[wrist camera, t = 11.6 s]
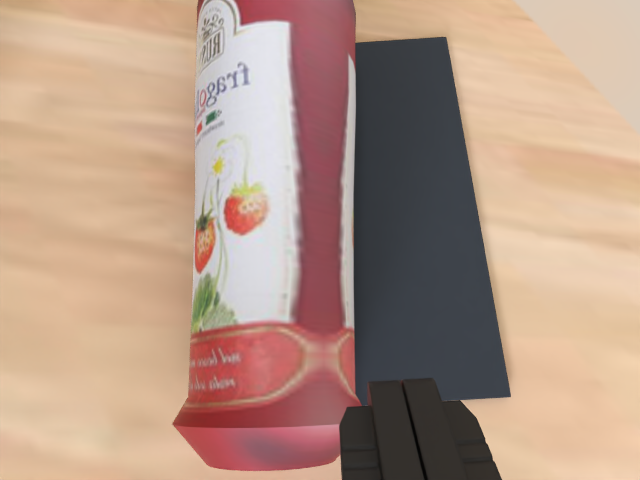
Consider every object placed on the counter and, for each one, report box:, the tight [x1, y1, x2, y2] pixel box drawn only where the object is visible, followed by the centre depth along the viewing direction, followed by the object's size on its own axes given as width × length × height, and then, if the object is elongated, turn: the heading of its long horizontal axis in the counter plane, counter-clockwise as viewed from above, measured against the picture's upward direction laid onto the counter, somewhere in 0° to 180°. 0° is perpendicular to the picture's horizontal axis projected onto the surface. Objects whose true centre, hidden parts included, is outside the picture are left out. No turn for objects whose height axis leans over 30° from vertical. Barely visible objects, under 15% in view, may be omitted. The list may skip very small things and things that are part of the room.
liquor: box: [173, 0, 362, 471], centre depth 21 cm, size 7×7×28 cm
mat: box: [353, 37, 511, 406], centre depth 23 cm, size 19×12×1 cm, turn 3°
